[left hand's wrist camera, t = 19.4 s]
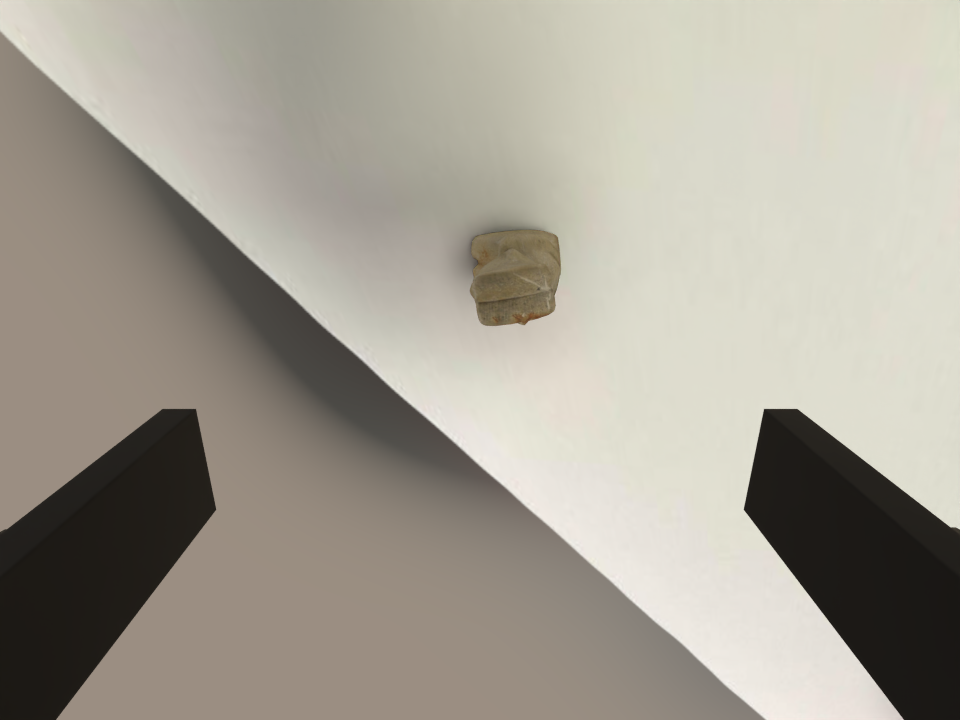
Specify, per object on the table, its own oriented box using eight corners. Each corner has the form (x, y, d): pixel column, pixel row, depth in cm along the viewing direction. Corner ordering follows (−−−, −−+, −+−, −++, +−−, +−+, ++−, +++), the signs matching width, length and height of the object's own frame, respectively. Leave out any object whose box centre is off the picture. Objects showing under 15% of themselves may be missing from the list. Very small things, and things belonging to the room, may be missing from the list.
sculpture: (468, 223, 45) (463, 250, 31) (553, 216, 45) (587, 240, 31) (475, 291, 47) (472, 344, 33) (556, 284, 47) (588, 335, 33)
